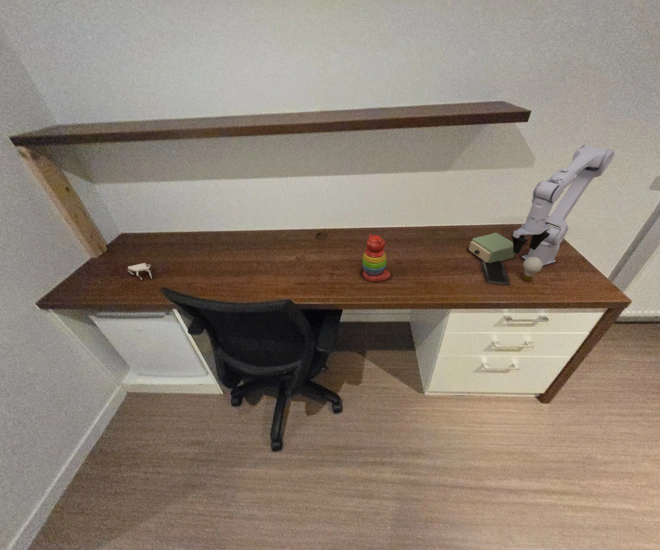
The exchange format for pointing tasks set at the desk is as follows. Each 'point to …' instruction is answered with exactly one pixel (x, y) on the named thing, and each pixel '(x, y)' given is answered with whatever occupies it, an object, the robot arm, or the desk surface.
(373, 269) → the stacking bear
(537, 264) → the light bulb
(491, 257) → the cabinet
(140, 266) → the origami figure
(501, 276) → the phone
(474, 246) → the drawer
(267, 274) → the desk surface
